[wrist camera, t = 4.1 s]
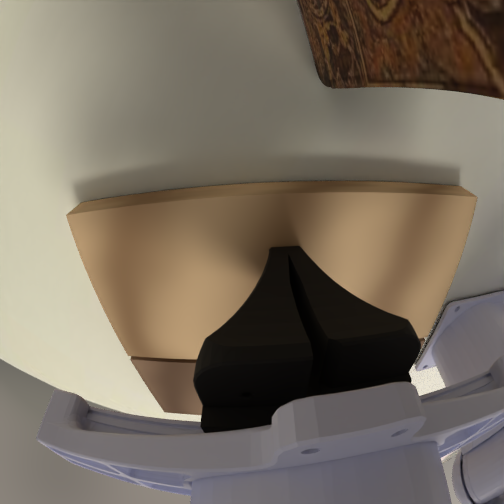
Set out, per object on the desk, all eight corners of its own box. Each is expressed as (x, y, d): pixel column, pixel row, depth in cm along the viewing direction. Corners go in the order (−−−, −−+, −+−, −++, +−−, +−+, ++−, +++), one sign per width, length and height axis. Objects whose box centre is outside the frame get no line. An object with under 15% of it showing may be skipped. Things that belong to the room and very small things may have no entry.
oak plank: (461, 186, 12) (477, 197, 10) (419, 321, 17) (427, 336, 15) (81, 202, 12) (66, 215, 11) (134, 339, 17) (128, 355, 16)
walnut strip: (416, 324, 17) (425, 340, 16) (387, 383, 21) (391, 397, 20) (136, 341, 18) (130, 359, 16) (167, 397, 22) (164, 412, 20)
